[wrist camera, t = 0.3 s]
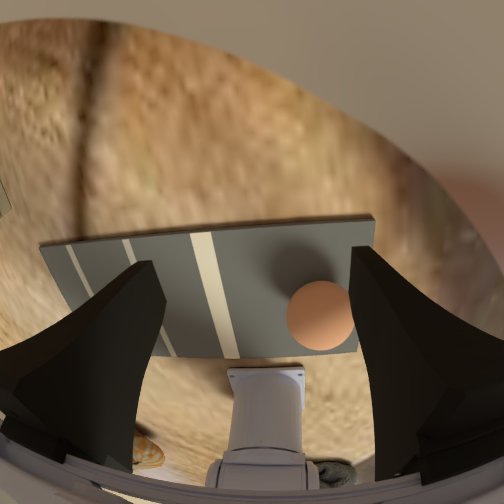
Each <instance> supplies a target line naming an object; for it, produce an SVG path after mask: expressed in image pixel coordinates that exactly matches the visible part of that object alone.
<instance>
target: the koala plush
mask: <svg viewBox="0 0 504 504" xmlns="http://www.w3.org/2000/svg"><path fill="white" fill-rule="evenodd" d="M313 464H314V463H313ZM314 465H315V466H317V468H318V473H319V489H326V488H336V487H345V486H352V485H354V483H355V482H356V479H357V473H356V471H355V469H354V467H352V466H350V465H343V464H340V463H339V462H328V461H327V462H322V463H318V464H314Z"/></svg>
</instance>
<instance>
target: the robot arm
mask: <svg viewBox="0 0 504 504" xmlns="http://www.w3.org/2000/svg"><path fill="white" fill-rule="evenodd" d="M348 294H349V300H350V306H351V312H352V317H353V321H354V324H355V328H356V331H357V335H358V338H359V342H360V345H361V349H362V352H363V356H364V360H365V363H366V367H367V372H368V377H369V383H370V391H371V399H372V409H373V420H374V436H375V482H372V483H366V484H359V485H352V486H345V487H336V488H326V489H319V473H318V468H317V466H315V465H314V464H313V462H312V461H306V462H305V453H302V410H304V396H305V368H304V367H283V368H230V369H228V370H227V376H228V379H229V382H230V385H231V388H232V390H233V393H234V404H233V412H232V420H231V428H230V437H229V445H228V451H224V454H223V459H216V460H215V462H213V463H212V464H211V465H210V467H209V469H208V472H207V476H206V481H205V487H201V486H193V485H186V484H180V483H174V482H168V481H162V480H157V479H152V478H148V477H143V476H139V475H134V474H132V473H133V441H134V430H135V420H136V414H137V407H138V401H139V396H140V391H141V386H142V381H143V378H144V374H145V371H146V368H147V365H148V362H149V360H150V357H151V354H152V351H153V348H154V346H155V343H156V340H157V337H158V335H159V332H160V329H161V326H162V323H163V318H164V314H165V309H166V304H167V300H166V298H165V295H164V292H163V290H162V287H161V284H160V281H159V279H158V276H157V273H156V270H155V268H154V265H153V262H152V260H145V261H137V262H135V263H134V264H132V265H131V266H130V267H128V268H127V269H126V270H124V271H123V272H122V273H121V274H119V275H118V276H117V277H116V278H115V279H113V280H112V281H111V282H110V283H108V284H107V285H106V286H105V287H104V288H102V289H101V290H100V291H99V292H98V293H96V294H95V295H94V296H92V297H91V298H90V299H89V300H87V301H86V302H85V303H84V304H82V305H81V306H80V307H79V308H77V309H76V310H74V311H73V312H72V313H70V314H69V315H67V316H66V317H64V318H63V319H61V320H60V321H58V322H57V323H55V324H54V325H52V326H50V327H48V328H47V329H45V330H43V331H42V332H40V333H38V334H36V335H35V336H33V337H31V338H29V339H27V340H25V341H23V342H20V343H18V344H16V345H14V346H11V347H9V348H6V349H4V350H1V351H0V411H1V412H3V413H4V414H5V415H6V417H5V419H4V421H3V420H1V419H0V490H1V491H2V492H4V493H5V494H6V495H7V496H9V497H10V498H11V499H12V500H14V501H15V502H16V503H17V504H133V503H131V502H129V501H127V500H125V499H123V498H122V497H120V496H117V495H115V494H112V493H109V492H107V491H104V490H102V488H106V489H108V490H111V491H115V492H118V493H122V494H125V495H128V496H132V497H136V498H140V499H144V500H148V501H152V502H157V503H161V504H504V340H501V339H499V338H496V337H494V336H492V335H490V334H488V333H486V332H484V331H482V330H480V329H478V328H476V327H474V326H472V325H470V324H468V323H467V322H465V321H463V320H462V319H460V318H458V317H456V316H455V315H453V314H452V313H450V312H448V311H447V310H445V309H444V308H442V307H441V306H440V305H438V304H437V303H435V302H434V301H432V300H431V299H430V298H428V297H427V296H426V295H424V294H423V293H422V292H421V291H419V290H418V289H417V288H416V287H414V286H413V285H412V284H411V283H409V282H408V281H407V280H406V279H405V278H404V277H403V276H401V275H400V274H399V273H398V272H397V271H396V270H395V269H394V268H392V267H391V266H390V265H389V264H388V263H387V262H386V261H385V260H384V259H383V258H382V257H381V256H380V255H379V254H377V253H376V252H375V251H374V250H373V249H372V248H371V247H370V246H369V245H367V246H353V247H352V249H351V265H350V278H349V290H348ZM101 487H102V488H101Z"/></svg>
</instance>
